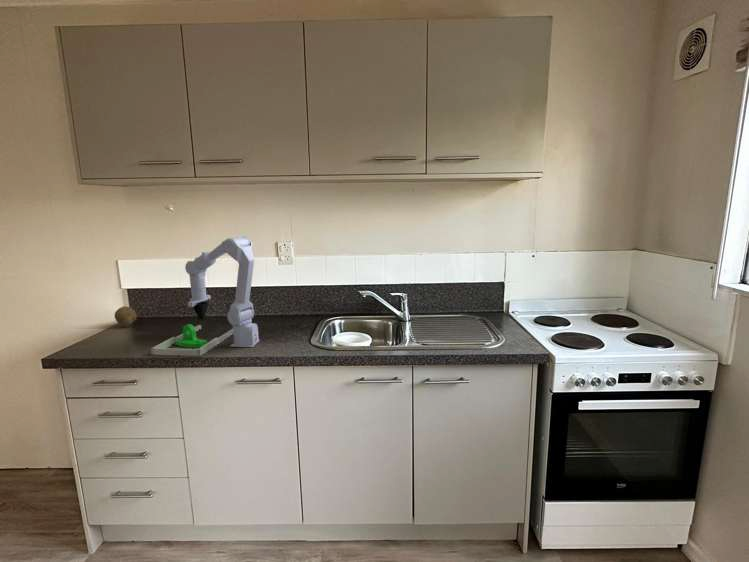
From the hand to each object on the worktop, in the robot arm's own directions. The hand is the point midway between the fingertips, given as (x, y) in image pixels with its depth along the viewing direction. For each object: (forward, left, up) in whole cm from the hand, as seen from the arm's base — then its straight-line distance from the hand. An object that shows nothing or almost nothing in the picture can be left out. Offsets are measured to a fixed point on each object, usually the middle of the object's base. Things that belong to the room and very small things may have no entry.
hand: (201, 319), depth 173 cm
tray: (0, +13, -9) cm, 16 cm away
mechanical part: (+1, +8, -9) cm, 12 cm away
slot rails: (0, -4, -9) cm, 10 cm away
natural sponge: (+48, -16, -9) cm, 51 cm away
